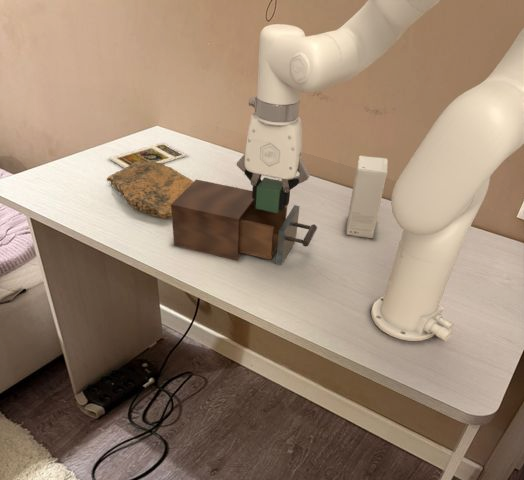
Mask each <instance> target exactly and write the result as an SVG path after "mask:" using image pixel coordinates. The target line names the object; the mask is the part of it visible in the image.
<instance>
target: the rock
mask: <svg viewBox="0 0 524 480" xmlns="http://www.w3.org/2000/svg"><path fill="white" fill-rule="evenodd" d="M106 181H107V182H110V184H111V185H112V186H113V187H114V188H116V189H117V190H118V191H119V192H120V193H122V194H123V195H124V199H125V200H126V202H127V203H128V204H129V205H130V207H132V208H133V209H134V210H136V211H138V212H142V213H145V214H148V215H152V216H154V217H158V218H160V219H169V218H172V212H171V204H172V203H173V202H174V201H175V200H176V199H177V198H178V197H179V196H180V195H181V194H182V193H183V192H184V191H185V190H186V189H187V188H188V187H189V186H190V185H191V184H192V183H193V182H194V181H193V180H192V179H191V178H189V177H187V176H185V175H184V174H182V173H180V172H178V171H177V170H175V169H174V168H172V167H171V166H167V165H165V164H164V163H157V162H147V161H146V162H145V161H136V162H134V163H133V164H131V165H130V166H128V167H126V168H123V169H120V170H118V171H116V172H114V173H113V174H110V175H109V176H108V177H106Z"/></svg>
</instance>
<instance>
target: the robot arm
mask: <svg viewBox="0 0 524 480" xmlns="http://www.w3.org/2000/svg"><path fill="white" fill-rule="evenodd" d="M441 1H442V0H367V1H366V2H365V3H364V5H362V6H361V8H360V9H359V10H358V11H357V12H355V14H354V15H353V16H352V17H350V18H349V19H348V20H347V21H346V22H345V23H344V24H343V25H342V26H340V27H339V28H337V29H336V30H330V31H326V32H322V33H318V34H313V35H306V34H305V31H304V30H303V29H301V28H300V27H298V26H295V25H292V24H283V23H274V24H268V25H265V26H264V27H263V28H262V29H261V31H260V33H259V41H258V59H257V60H258V61H257V82H256V96H255V97H249V98H248V106H250V107H252V108H254V113H252V114H251V115H250V119H249V124H248V128H247V134H246V141H245V151H244V154H243V155H242V156H241V157H240V159H238V161H237V162H236V167H238V169H240V171H242V172H243V173H244V175H245V177H246V178H247V179H248V180H249V181H250V185H251V186H252V190H251V191H252V199H254V205H256V194H257V186H258V185H259V184H260V182H261V181H262V176H265V177H268V178H270V177H271V178H273V179H274V178H275V179H279V180H281V181H282V185H283V188H282V191H281V193H280V203H279V210H280V211H283V209H284V207H285V206H287V207H288V206H289V204H290V196H291V190H293V189H294V188H295V187H297V186H298V185H300V184H303V183H304V182H306V181H308V180H309V178H310V173H309V170H308V168H307V167H306V165H305V163H304V161H303V160H302V159H303V157H302V156H303V125H302V119H301V117H299V112H300V102H301V93H305V94H313V93H314V94H315V93H317V92H320V91H323V90H326V89H329V88H331V87H333V86H336V85H340V84H343V83H345V82H348V81H350V80H352V79H354V78H355V77H356V76H357V75H359V74H360V73H362V72H364V70H366V69H367V68H368V67H369V66H371V65H372V64H373V63H375V62H376V61H377V60H379V59H380V58H381V57H382V56H383V55H384V54H385V53H387V52H388V51H389V50H390V49H391V48H392V47H394V45H395V44H396V43H397V42H398V41H399V39H400V38H401V37H402V36H403V35H404V34H405V33H406V31H407V30H408V28H409V27H410V26H412V25H413V24H414V23H416V22H417V21H418V20H419V19H420V18H421V17H423V16H424V15H425V14H426V13H427V12H429V11H430V10H431V9H433V8H434V7H435V6H436V5H437V4H439V2H441ZM522 146H524V27H523V28H522V29H521V30H520V32H519V33H518V35H517V36H516V38H515V40H514V41H513V43H512V44H511V46H510V48H509V49H508V50H507V51H506V53H505V54H504V56H503V57H502V59H501V60H500V61H499V63H497V65H496V66H495V67H494V69H493V71H492V72H491V73H490V74H489V75H488V77H487V78H485V80H484V81H482V82H480V83H479V84H478V85H476V86H474V87H472V88H470V89H468V90H466V91H464V92H463V93H462V94H460V95H458V96H457V97H456V98H455V99H454V100H452V101H451V102H450V103H449V104H448V105H447V107H445V109H443V111H442V113H440V114H439V116H438V118H437V119H436V120H435V122H434V123H433V124H432V126H431V128H430V129H429V131H427V133H426V135H425V137H424V139H423V140H422V141H421V143H420V144H419V146H418V147H417V148H416V151H415V152H414V153H413V155H412V156H411V158H410V159H409V161H408V162H407V164H406V166H405V167H404V169H403V170H402V172H401V173H400V174H399V177H398V178H397V180H396V182H395V185H394V187H393V190H392V192H391V198H390V205H391V211H392V216H393V218H394V219H395V222H396V223H397V224H398V225H399V227H401V228H402V230H403V232H402V234H401V238H400V240H399V244H398V247H397V251H396V254H395V258H394V261H393V265H392V268H391V271H390V274H389V278H388V281H387V285H386V288H385V292H384V295H383V296H381V297H379V298H378V299H376V300H375V301H374V303H373V305H372V307H371V310H370V313H371V314H370V315H371V319H372V321H373V322H374V324H375V325H376V326H377V328H378V329H380V331H382V332H384V333H385V334H387V335H389V336H391V337H393V338H395V339H398V340H402V341H407V342H408V341H409V342H419V341H425V340H429V339H430V338H433V337H434V336H436V338H437V337H438V338H439V339H441V340H442V341H444V342H447V341H448V340H449V339H450V337H451V336H452V334H453V332H452V331H451V329H452V327H453V323H452V322H450V321H449V320H447V319H444V318H443V316H442V315H441V314H442V312H443V310H444V306H441V305H440V303H441V300H442V298H443V294H444V293H445V290H446V287H447V285H448V281H449V280H450V278H451V274H452V272H453V270H454V267H455V264H456V261H457V260H458V257H459V255H460V252H461V250H462V247H463V245H464V242H465V240H466V237H467V235H468V233H469V230H470V228H471V226H472V224H473V222H474V220H475V218H476V216H477V214H478V212H479V210H480V208H481V206H482V204H483V202H484V200H485V197H486V195H487V193H488V190H489V187H490V181H491V176H492V174H493V173H495V171H496V170H497V169H498V168H499V167H500V165H502V163H503V162H504V161H505V160H506V159H507V158H508V157H510V156H511V155H513V154H514V153H515V152H517V150H519V149H520V148H521V147H522ZM297 173H298V175H297Z"/></svg>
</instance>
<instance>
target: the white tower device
mask: <svg viewBox="0 0 524 480" xmlns="http://www.w3.org/2000/svg"><path fill="white" fill-rule="evenodd" d="M388 165H389V164H388V158H387V157H386V158H385V157H376V156H366V155H359V156H358V160H357V164H356V168H355V175H354V180H353V185H352V191H351V196H350V204H349V208H348V216H347V223H346V233H345V234H346V235H347V236H353V237H359V238H367V239H373V238H374V235H375V230H376V225H377V221H378V217H379V216H378V215H379V212H380V207H381V203H382V202H381V201H382V198H383V195H384V190H385V184H386V180H387V175H388Z"/></svg>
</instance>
